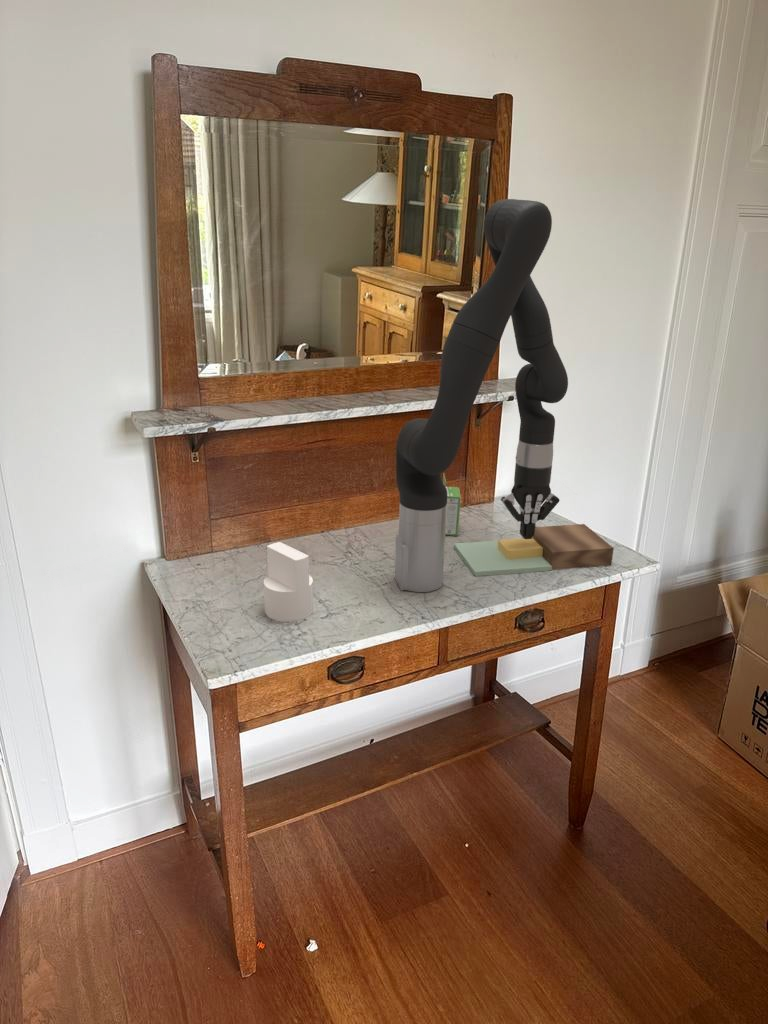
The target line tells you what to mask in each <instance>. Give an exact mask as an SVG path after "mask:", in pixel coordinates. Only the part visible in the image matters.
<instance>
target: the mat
mask: <svg viewBox="0 0 768 1024" xmlns="http://www.w3.org/2000/svg"><path fill="white" fill-rule="evenodd" d="M454 548H455V549H454ZM453 549H454V550H455V551H456V553H457V552H458V553H457V554H458V556H459V557H460V558H461V559H462V561H463V562H464V564H465V565H466V566H467V568H468V569H469V570H470V572H471V574H472V575H475V576H474V577H483V576H482V575H486V576H497V574H498V575H499V576H500V575H507V574H508V575H510V574H522V573H536V572H550V571H552V570H553V569H552V566H551V565H550V564H549V563H548V562H547V561H546V560H545V559H544V558H543V557H531V558H518V559H507V558H506V557H505V556H504V555H503V554H502V553H501V551H500V550H499V549H498V540H489V541H474V542H473V541H472V542H470V541H469V542H460V543H459V542H457V543H453Z"/></svg>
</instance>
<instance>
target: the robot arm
mask: <svg viewBox="0 0 768 1024" xmlns="http://www.w3.org/2000/svg"><path fill="white" fill-rule="evenodd" d="M552 224H553V218H552V213H551V211H550V209H549V208H548V206H547V205H546V204H545V203H543V202H541V201H537V200H531V199H530V200H529V199H527V200H525V199H516V198H515V199H514V198H503V199H500V200H496V201H495V202H494V203H493V204H492V205H490V207H489V208H488V210H487V212H486V214H485V217H484V221H483V231H484V238H485V240H486V244H487V247H488V250H489V253H490V255H491V258H492V260H493V263H494V268H493V271H492V273H491V274H490V275H489V277H488V278H487V280H486V281H485V282H484V283H483V285H481V287H480V288H478V290H476V292H474V293H473V295H472V296H471V297H470V298H469V299H468V300H467V301H466V302H465V303H464V304H463V305H462V307H461V308H460V309H459V310H458V312H457V314H456V316H455V318H454V320H453V322H452V324H451V326H450V329H449V332H448V333H447V335H446V339H445V342H444V344H443V347H442V351H441V358H440V374H439V375H440V377H439V387H438V388H439V389H438V394H437V398H436V399H435V403H434V406H433V408H432V410H431V412H430V415H429V418H423V417H421V418H420V417H419V418H414V419H411V420H409V421H407V422H406V423H405V424H403V426H402V428H401V429H400V430H399V433H398V436H397V439H396V447H395V472H396V473H395V476H396V477H395V478H396V479H395V480H396V481H395V482H396V487H397V490H398V495H399V507H398V508H399V510H398V534H396V535H395V548H394V549H395V550H394V551H395V552H394V553H395V554H394V555H395V557H394V559H395V560H394V579H395V581H396V583H397V585H398V587H399V588H400V590H401V591H410V592H416V593H428V592H434V591H437V590H438V589H440V588H441V587H442V586H443V581H444V580H443V579H444V565H445V564H444V563H445V562H444V561H445V550H446V549H445V546H446V535H445V531H446V513H447V490H446V487H447V486H446V487H445V483H444V484H443V478H442V476H441V474H442V473H445V471H447V470H448V469H449V468H450V467H451V466H452V464H453V462H454V461H455V459H456V457H457V455H458V452H459V449H460V447H461V446H460V445H461V442H462V439H463V436H464V433H465V429H466V426H467V424H468V420H469V417H470V415H471V411H472V408H473V405H474V404H475V401H476V399H477V397H478V393H480V390H481V386H482V384H483V382H484V379H485V377H486V374H487V372H488V369H489V368H490V365H491V363H492V361H493V359H494V356H495V353H496V351H497V350H498V347H499V344H500V342H501V340H502V337H503V334H504V332H505V329H506V327H507V324H508V322H509V320H510V318H511V322H512V327H513V333H514V338H515V343H516V350H517V354H518V355H519V358H521V359H522V360H523V361H526V362H527V364H524V365H523V366H522V367H521V368H520V369H519V371H518V373H517V375H516V378H515V383H514V385H515V387H514V390H515V397H516V403H517V407H518V413H519V417H520V424H519V425H520V426H519V436H518V443H517V446H516V447H517V448H516V453H515V465H514V466H515V467H514V478H513V482H514V483H513V486H512V488H511V491H510V493H509V494H508V495H507V496H502V497H501V498H500V502H501V503H502V504H503V505H504V506H505V508H506V509H507V511H508V512H509V513H510V515H511V516H512V517H513V518H514V520H515V521H517V522H520V523H519V524H520V525H519V535H520V536H521V538H524V539H532V536H534V533H535V527H536V523H537V522H538V521H544V520H546V518H547V516H548V515H550V513H551V512H552V511H553V509H555V507H556V506H557V504H558V503H560V498H559V497H558V496H557V495H555V494H554V493H552V489H551V486H550V484H551V480H552V479H551V477H552V469H553V458H554V440H555V439H554V438H555V437H554V436H555V428H556V419H555V415H553V414H552V413H551V412H549V411H547V410H546V409H545V408H544V407H543V405H542V403H547V404H557V403H558V402H560V401H561V400H563V398H565V396H566V394H567V391H568V387H569V377H568V373H567V370H566V368H565V365H564V362H563V361H562V359H561V357H560V354H559V352H558V349H556V346H555V344H554V337H553V330H552V324H551V319H550V315H549V311H548V308H547V305H546V304H545V301H544V299H543V298H542V296H541V294H540V291H539V290H538V288H537V286H536V285H535V282H534V279H533V278H532V276H531V274H532V272H533V271H534V269H535V267H536V265H537V263H538V261H539V259H540V258H541V256H542V255H543V253H544V251H545V249H546V247H547V244H548V241H549V239H550V235H551V233H552V226H553V225H552ZM516 502H517V503H516ZM515 503H516V504H518V506H519V512H520V513H519V512H518V510H517V509H516V508H515V506H514V505H515Z"/></svg>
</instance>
